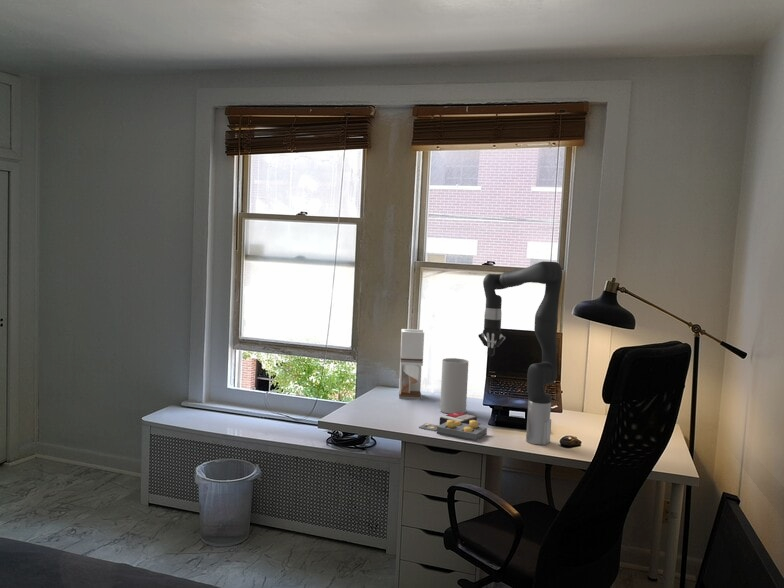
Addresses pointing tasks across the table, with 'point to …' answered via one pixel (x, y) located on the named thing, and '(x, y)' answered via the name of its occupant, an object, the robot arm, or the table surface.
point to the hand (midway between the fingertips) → (490, 355)
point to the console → (462, 432)
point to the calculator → (457, 418)
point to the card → (429, 427)
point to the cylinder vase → (454, 385)
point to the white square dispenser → (411, 363)
